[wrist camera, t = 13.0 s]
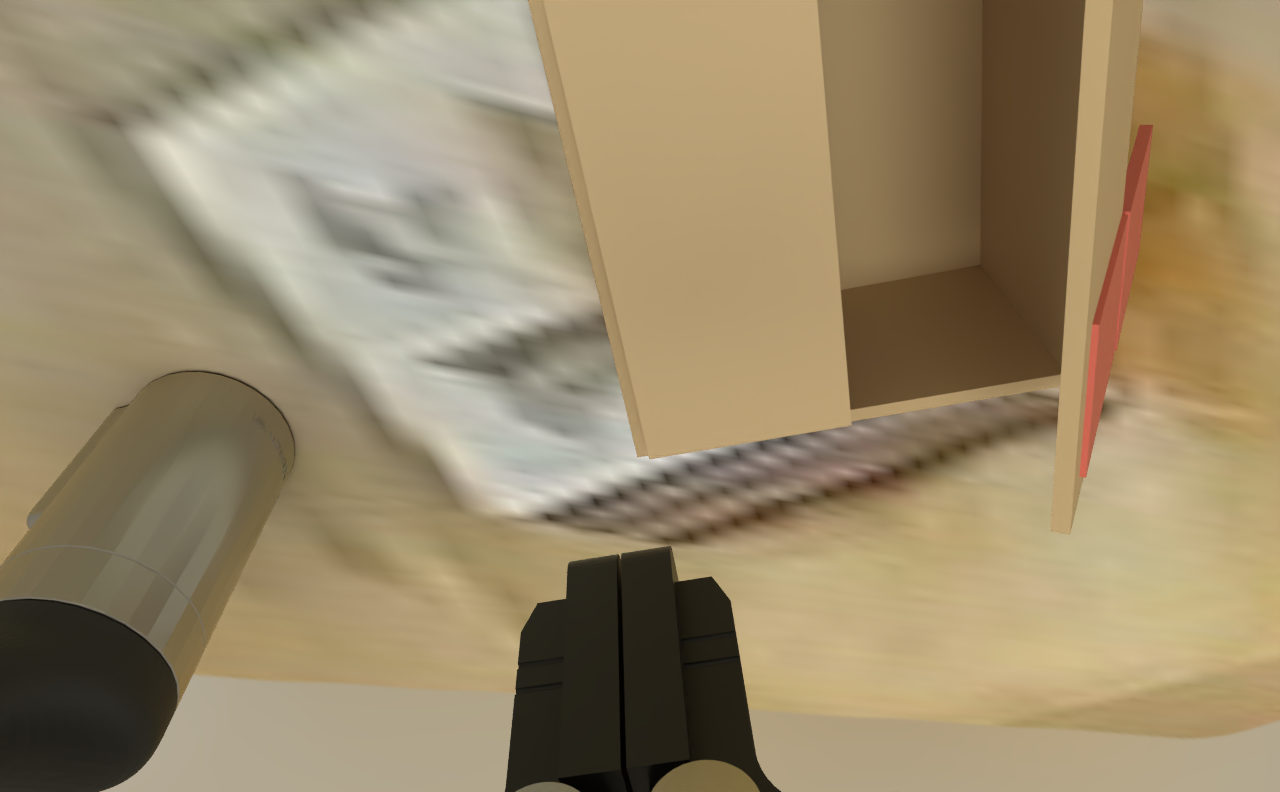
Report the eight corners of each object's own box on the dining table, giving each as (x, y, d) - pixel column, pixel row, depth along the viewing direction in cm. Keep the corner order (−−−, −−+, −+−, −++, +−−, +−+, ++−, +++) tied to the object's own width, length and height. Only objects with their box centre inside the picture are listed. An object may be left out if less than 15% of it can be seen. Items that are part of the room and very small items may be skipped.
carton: (633, 331, 50) (638, 472, 40) (543, -71, 40) (518, -24, 29) (989, 268, 49) (1093, 396, 38) (996, -170, 38) (1142, -158, 28)
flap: (1050, 531, 32) (1078, 535, 31) (1089, -59, 22) (1130, -63, 21) (1116, 272, 45) (1136, 273, 44) (1159, -169, 35) (1185, -173, 34)
